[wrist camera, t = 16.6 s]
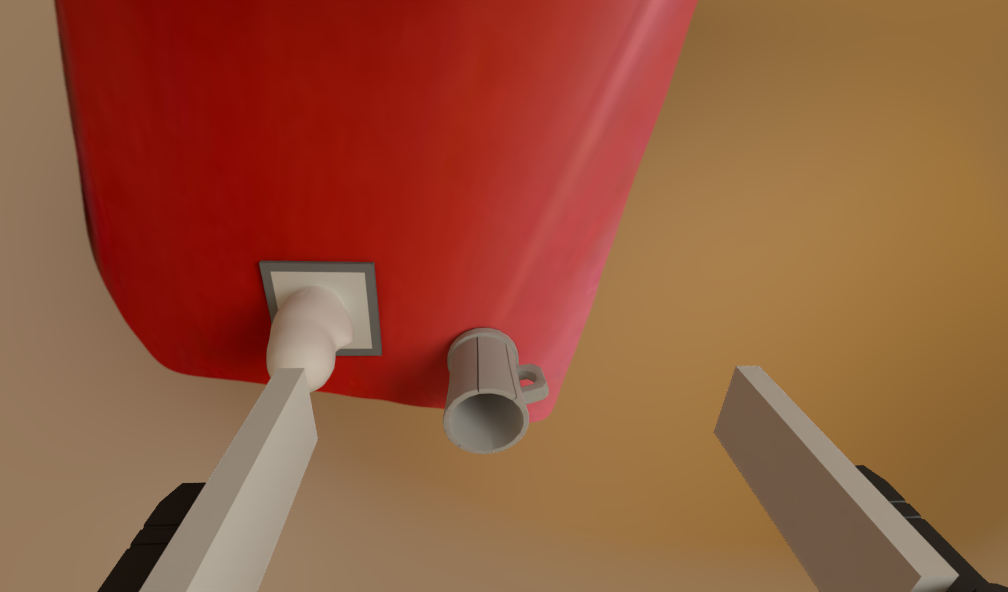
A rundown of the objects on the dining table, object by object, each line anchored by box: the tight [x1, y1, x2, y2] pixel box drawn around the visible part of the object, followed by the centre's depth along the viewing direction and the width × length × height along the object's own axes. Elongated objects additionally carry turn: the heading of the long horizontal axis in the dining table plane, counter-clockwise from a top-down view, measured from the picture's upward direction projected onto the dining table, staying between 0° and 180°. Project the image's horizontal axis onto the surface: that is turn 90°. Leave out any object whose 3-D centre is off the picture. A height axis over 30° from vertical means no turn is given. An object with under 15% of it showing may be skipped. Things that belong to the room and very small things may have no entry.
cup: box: [443, 328, 549, 454], centre depth 52 cm, size 10×9×12 cm
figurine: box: [267, 286, 354, 393], centre depth 47 cm, size 7×8×12 cm
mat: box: [259, 261, 382, 356], centre depth 53 cm, size 12×12×1 cm
